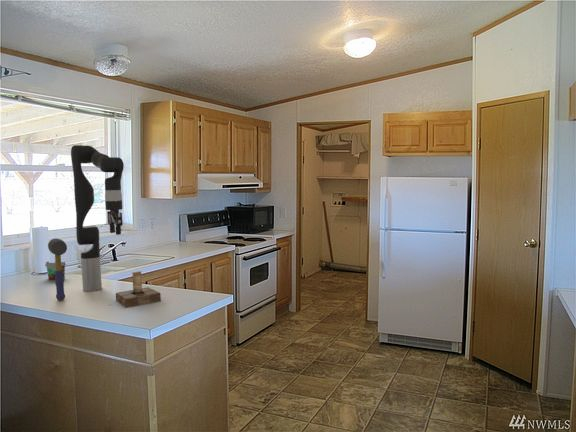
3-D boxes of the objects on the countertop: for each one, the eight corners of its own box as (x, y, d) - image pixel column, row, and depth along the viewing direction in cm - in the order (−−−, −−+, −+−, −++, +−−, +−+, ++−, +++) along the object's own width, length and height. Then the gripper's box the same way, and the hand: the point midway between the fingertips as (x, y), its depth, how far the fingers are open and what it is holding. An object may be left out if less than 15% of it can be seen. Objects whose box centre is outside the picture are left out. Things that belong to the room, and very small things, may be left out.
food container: (41, 280, 274) (39, 263, 273) (48, 277, 280) (47, 261, 279) (59, 280, 271) (58, 263, 270) (66, 278, 277) (65, 261, 276)
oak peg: (132, 301, 224) (130, 272, 222) (140, 299, 226) (139, 270, 225) (135, 302, 220) (133, 273, 219) (144, 301, 223) (142, 272, 222)
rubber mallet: (50, 298, 231) (46, 238, 228) (67, 296, 235) (63, 236, 232) (54, 304, 221) (49, 241, 218) (71, 301, 225) (67, 239, 222)
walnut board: (116, 301, 224) (115, 292, 224) (148, 295, 234) (148, 287, 234) (127, 307, 212) (126, 299, 212) (160, 301, 222) (160, 292, 222)
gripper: (100, 199, 226) (102, 233, 227) (110, 200, 215) (112, 235, 216) (116, 198, 230) (118, 231, 232) (126, 199, 219) (128, 234, 221)
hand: (115, 233), depth 224 cm, fingers open, 8 cm apart
